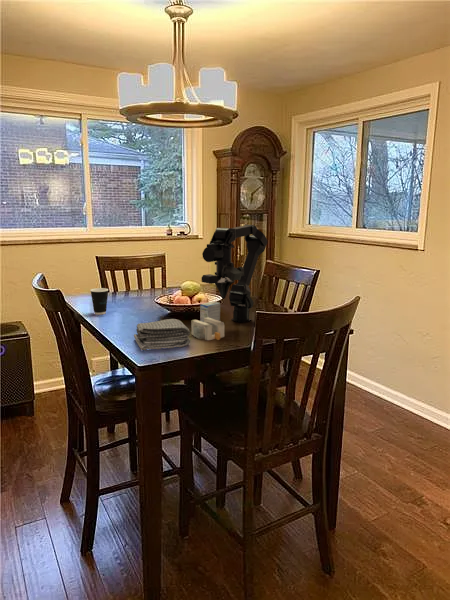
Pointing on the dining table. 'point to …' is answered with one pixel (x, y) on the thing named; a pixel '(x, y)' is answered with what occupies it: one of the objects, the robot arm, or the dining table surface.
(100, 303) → the dixie cup
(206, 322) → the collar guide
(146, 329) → the towel
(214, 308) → the medicine box
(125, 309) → the dining table surface
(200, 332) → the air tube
